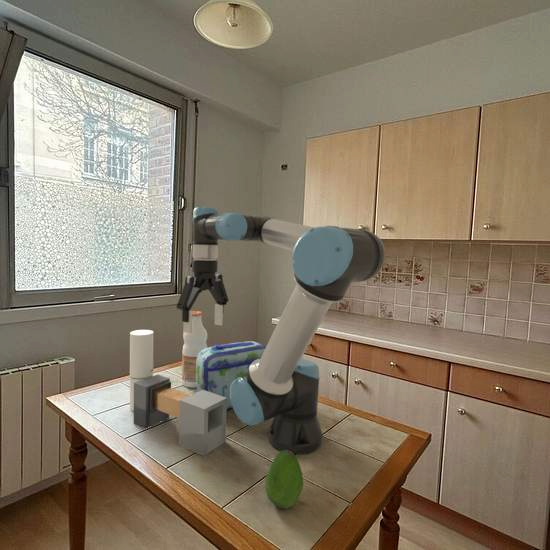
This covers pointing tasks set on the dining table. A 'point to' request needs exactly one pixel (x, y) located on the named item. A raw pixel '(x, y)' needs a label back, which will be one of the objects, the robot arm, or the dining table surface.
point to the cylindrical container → (140, 358)
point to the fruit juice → (192, 349)
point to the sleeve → (202, 422)
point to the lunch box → (225, 366)
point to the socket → (147, 402)
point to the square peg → (165, 399)
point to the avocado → (284, 480)
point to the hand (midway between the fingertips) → (203, 328)
